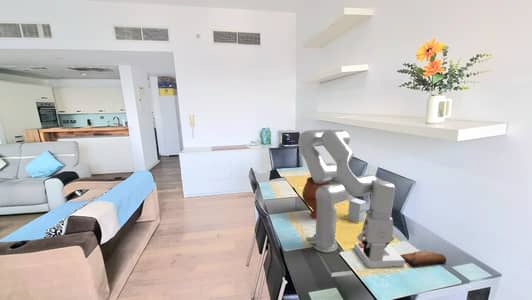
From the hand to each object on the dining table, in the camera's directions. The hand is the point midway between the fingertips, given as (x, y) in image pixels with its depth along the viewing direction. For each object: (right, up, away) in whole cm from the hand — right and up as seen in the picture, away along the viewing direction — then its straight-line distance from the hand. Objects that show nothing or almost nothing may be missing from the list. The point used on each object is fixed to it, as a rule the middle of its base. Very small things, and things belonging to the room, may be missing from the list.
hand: (373, 254), depth 89 cm
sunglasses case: (+29, -10, +14) cm, 33 cm away
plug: (0, -1, 0) cm, 1 cm away
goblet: (-10, -2, +55) cm, 56 cm away
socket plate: (+10, -8, +15) cm, 20 cm away
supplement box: (+14, -2, +51) cm, 53 cm away
